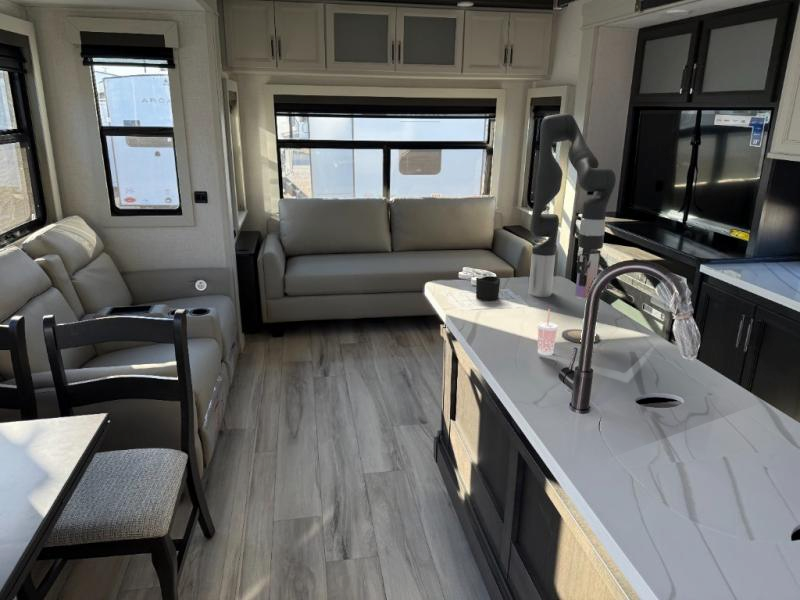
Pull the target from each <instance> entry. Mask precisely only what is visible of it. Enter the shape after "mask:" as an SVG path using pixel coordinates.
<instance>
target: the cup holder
mask: <svg viewBox="0 0 800 600" xmlns="http://www.w3.org/2000/svg"><path fill="white" fill-rule="evenodd" d="M486 276H494V277H497V274H496V273H494V272H492V271H489V270H484V269H479V268H472V267H468V266H467V267H466V266H465V267H463V268H462V271H460V272H458V278H459V279H460V280H461V279H462V280H470V284H471V285H472V286H475V287H476V278H483V277H486Z"/></svg>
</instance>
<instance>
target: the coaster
mask: <svg viewBox="0 0 800 600" xmlns="http://www.w3.org/2000/svg"><path fill="white" fill-rule="evenodd" d="M582 330H583V329H581V328H580V329H578V328H577V329H576V328H575V329H574V328H571V329H566V330H563V331H562V333H561V337H562V338H563V339H565V341H569V342H572V343H578V344H581V343H580V340H581V333H582ZM600 337H601V336H600V335H599V334H598V333H596V336H595V343H599V342H600ZM595 343H594V344H595Z"/></svg>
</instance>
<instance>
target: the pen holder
mask: <svg viewBox="0 0 800 600" xmlns="http://www.w3.org/2000/svg"><path fill="white" fill-rule="evenodd" d="M485 276H486V277H483V278H476V286H475V288H476V290H475V298H476V299H477V300H479V301H483V302H496V301H497V300H499V295H500V285H501V278H500V277H497V276H496V277H494V276H492V275H489V276H487V275H485Z"/></svg>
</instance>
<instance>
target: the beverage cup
mask: <svg viewBox="0 0 800 600" xmlns="http://www.w3.org/2000/svg"><path fill="white" fill-rule="evenodd" d="M550 314H551V309H550V308H548V311H547V319H546V320H547V321H541V322H537V328H538V329H537V353H538V354H539V355H542V356H552V355H553V354H554V349H555V343H556V338H557V331H558V329H559V325H558V324H557V323H555V322H551V321H550Z"/></svg>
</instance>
